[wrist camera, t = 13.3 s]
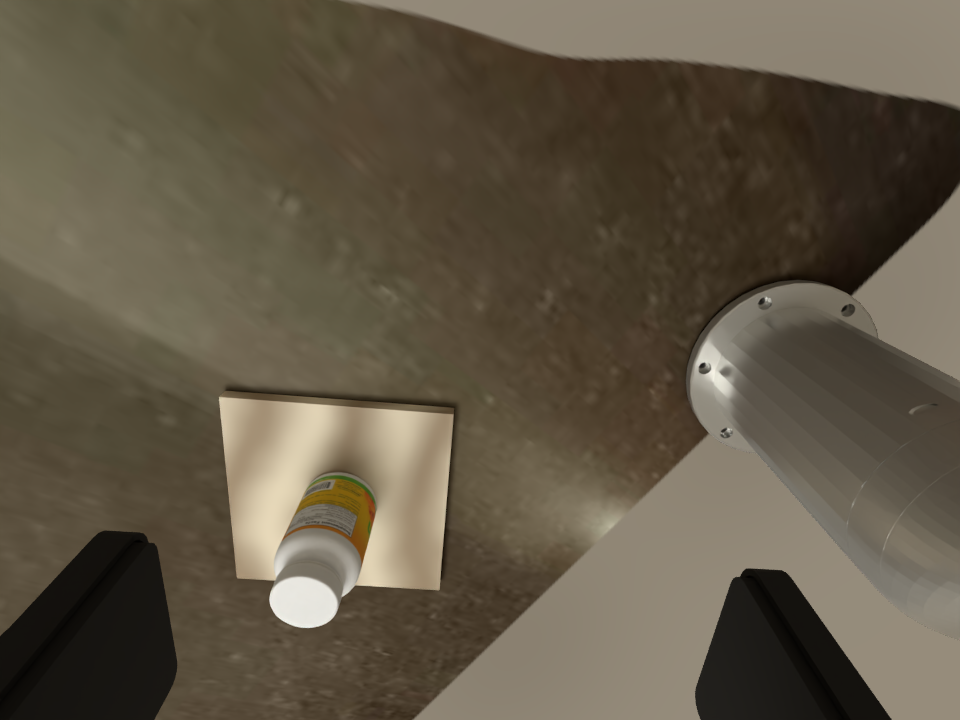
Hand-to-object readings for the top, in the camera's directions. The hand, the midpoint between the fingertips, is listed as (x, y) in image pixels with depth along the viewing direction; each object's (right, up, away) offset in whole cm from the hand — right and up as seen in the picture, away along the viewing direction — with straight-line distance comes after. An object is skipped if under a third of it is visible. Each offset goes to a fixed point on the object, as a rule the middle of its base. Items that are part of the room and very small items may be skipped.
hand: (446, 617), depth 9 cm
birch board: (-10, -6, +33) cm, 35 cm away
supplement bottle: (-10, -6, +32) cm, 34 cm away
